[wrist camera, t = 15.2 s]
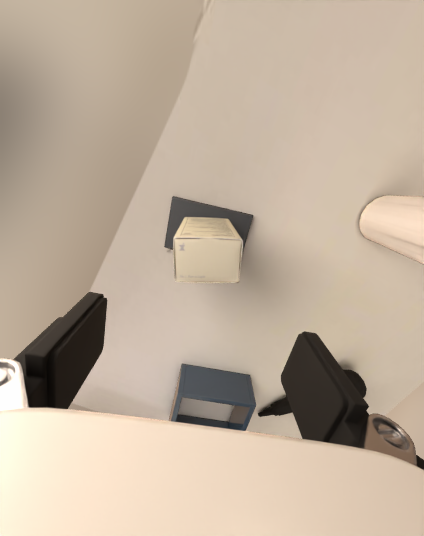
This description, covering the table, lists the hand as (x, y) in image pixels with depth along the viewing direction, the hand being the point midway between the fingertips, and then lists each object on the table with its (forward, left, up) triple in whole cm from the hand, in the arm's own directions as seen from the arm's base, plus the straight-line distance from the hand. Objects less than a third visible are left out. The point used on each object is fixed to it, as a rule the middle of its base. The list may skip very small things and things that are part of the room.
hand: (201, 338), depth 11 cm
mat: (0, 0, -23) cm, 23 cm away
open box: (+7, -31, -23) cm, 39 cm away
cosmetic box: (0, 0, -23) cm, 23 cm away
